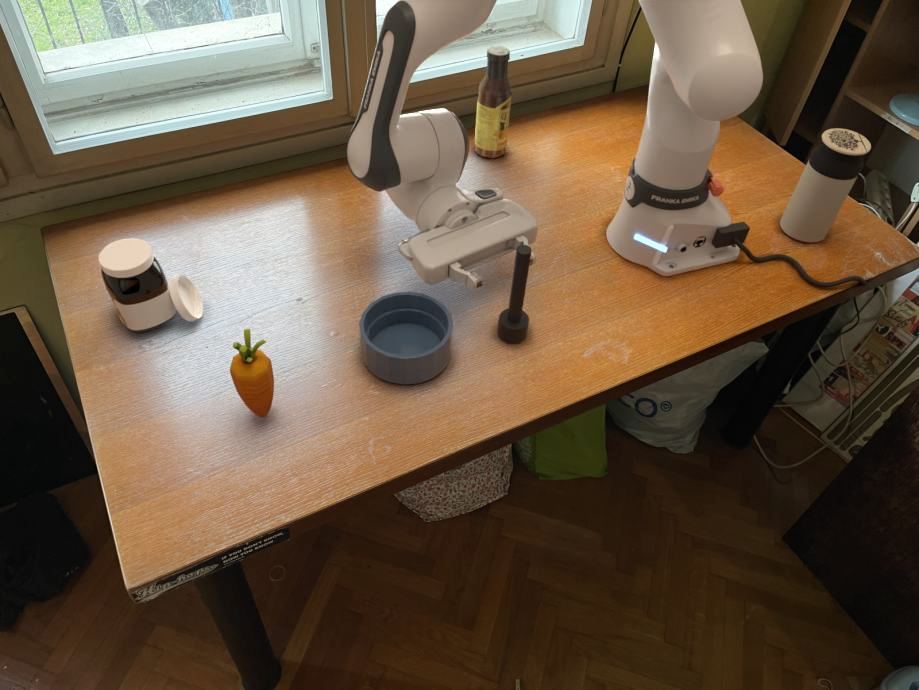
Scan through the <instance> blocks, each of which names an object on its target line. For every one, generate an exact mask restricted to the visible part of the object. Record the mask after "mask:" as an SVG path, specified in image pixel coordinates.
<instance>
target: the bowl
mask: <svg viewBox="0 0 919 690" xmlns="http://www.w3.org/2000/svg"><path fill="white" fill-rule="evenodd" d="M358 325H359V336H360V337H359V338H360V348H361V349H360V350H361V359H362V361H363V363H364V365H365V366H366V368H367V369H368V371H370V373H372V374H373V375H374V376H376V378H379V379H381V380H384V381H387V382H388V383H393V384H399V385H413V384H420V383H423V382H426V381H429V380H431V379H433V378H435V377H436V376H438V375H439V374H440V373H442V372H443V371H444V370H445V368H446V367H447V365H448V364H449V363H450V360H451V355H452V351H453V333H454V323H453V318H452V315H451V313H450V311H449V310H448V308H447V307H446V306H445V305H444V304H443V303H441V302H440V301H439V300H438V299H436V298H434V297H432V296H429V295H427V294H425V293H421V292H415V291H400V292H399V291H398V292H397V291H396V292H392V293H389V294H386V295H382V296H380V297H378V298H377V299H375V300H374V301H372V302H370V303H369V304H368V306H367V307H366V308H365V309H364V310H363V312H362V313H361V316H360V319H359V322H358Z"/></svg>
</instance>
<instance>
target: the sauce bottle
mask: <svg viewBox="0 0 919 690" xmlns="http://www.w3.org/2000/svg"><path fill="white" fill-rule="evenodd" d="M510 55H511V51H510V49H509V48H507V47H505V46H502V45H492V46H490V47H488V48H487V51H486V59H487V60H486V61H487V62H486V69H485V73H486V74H485V76H484V77H483V78H482V79H481V81H480V83H479V85H478V97H477V102H476V115H475V128H474V129H475V130H474V151H475V152H476V153H477V155H479V156H481V157H482V158H483V157H484V158H488V159H489V158H490V159H495V158H499V157H501V156H502V155H504V154H505V152H506V146H507V142H508V134H509V125H510V114H511V106H512V105H511V104H512V96H513V92H512V89H511V85H510V80H509V77H508V69H509V68H508V67H509V61H510V57H511V56H510Z"/></svg>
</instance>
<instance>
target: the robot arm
mask: <svg viewBox="0 0 919 690" xmlns="http://www.w3.org/2000/svg"><path fill="white" fill-rule="evenodd" d="M637 1H638V3H639V6H640V8H641V11H642V12H643V15H644V17H645V19H646V22H647V24H648V27H649V30H650V32H651V34H652V37H653V39H654V49H653V55H652V62H651V68H650V77H649V86H648V96H647V106H646V114H645V119H644V124H643V128H642V131H641V136H640V140H639V143H638V146H637V147H638V148H637V151H636V155H635V157H634V158H633V159H632V161H631V164H630V168H629V171H628V174H627V178H626V181H625V185H624V191H623V194H624V195H623V198H622V200H621V202H620V205H619V207H618V209H617V211H616V213H615V215H614V216H613V218H612V220H611V222H610V223H609V224H608V226H607V228H606V231H605V232H606V233H605V236H606V240H607V242H608V244H609V246H610V247H611V248H612V249H613V251H614V252H615V253H616V254H618V255H619V256H620V257H622V258H624V259H626V260H627V261H630V262H631V263H634V264H637V265H640V266H643V267H646V268H648V269H650V270H651V271H653V272H654V273H656V274H658V275H659V276H662V277H670V276H674V275H678V274H684V273H688V272H692V271H696V270H699V269H700V270H701V269H706V268H710V267H714V266H717V265H723V264H726V263H731V262H734V261H737V260H738V259H739V256H740V250H741V251H742V253H744V255H746V257H747V258H748V259H749V260H750V261H752V262H754V263H764V262H765V263H766V262H768V261H773V260H783V261H785V262H788V263H789V264H791V265H792V266H793V267H794V268H795V269H796V270H797V272H798V273H799V275H800V276H801V277H802V278H803V279H804V280H805V281H806V282H808V283H809V284H810V285H813V286H815V287H819V288H833V287H839V286H842V285H844V284H847V283H850V282H858V283H859V284H860V285H862V286H867V285H868V283H867V281H866V280H865V279H864V278H863V277H862V276H860V275H850V276H846V277H843V278H840V279H837V280H834V281H833V280H832V281H827V282H826V281H819V280H817V279H814V278H813V277H811V276H810V275H809V274H808V273H807V272H806V270H805V269H804V267H802V265H801V264H800V263H799V262H798V260H796V259H794V258H793V257H791V256H789V255H786V254H782V253H774V254H769V255H765V256H756V255H754V254H753V253H752V252H751V250H750V249H749V248H748V247H747V246H745V245H744V243H745V241H746V239H747V237H748V235H749V232H750V230H751V227H750V226H749V225H748V224H747V223H746V222H745V221H741V222H735V223H733V220H732V216H731V213H730V211H729V209H728V208H727V206H726V204H725V203H724V202H723V201H722V199H721V198H720V196H722V195H723V194H724V192H725V187H724V185H722V183H721V181H720V180H719V179H714V175H713V173H712V172H711V171H710V169H709V165H710V163H711V160H712V158H713V154H714V151H715V148H716V146H717V142H718V140H719V136H720V132H721V121H726V120H729V119H733V118H735V117H737V116H739V115H740V114H742V113H743V112H745V111H746V110H748V108H749V107H751V105H752V104H753V103H754V102H755V101H756V99H757V98H758V96H759V95H760V92H761V90H762V87H763V82H764V73H763V67H762V65H763V64H762V60H761V56H760V51H759V49H758V46H757V42H756V40H755V37H754V34H753V31H752V29H751V26H750V23H749V20H748V17H747V15H746V12H745V9H744V6H743V4H742V1H741V0H637ZM497 2H498V0H398V1H397V2H396V3H395V4H394V5H393V6H391V7H390V8H389V10H388V11H387V13H386V14H385V16H384V19H383V22H382V25H381V28H380V31H379V34H378V38H377V42H376V44H375V49H374V53H373V56H372V60H371V64H370V69H369V72H368V76H367V79H366V80H367V81H366V84H365V88H364V92H363V96H362V100H361V103H360V107H359V111H358V114H357V117H356V119H355V122H354V124H353V126H352V128H351V130H350V132H349V134H348V135H349V136H348V137H347V138H348V139H347V142H346V149H345V151H346V162H347V165H348V169H349V171H350V173H351V174H352V176H353V177H354V178H355V179H356V180H357V181H358V182H360V183H361V184H363V185H364V186H365V187H367V188H369V189H371V190H373V191H374V192H379V193H380V192H384V191H385V192H386V194H387V196H388V197H389V198H390V200H391V202H392V203H393V204H394V206H396V208H397V209H398V210H399V211H400V212H401V213H402V214H403V216H405V217H406V218H407V219H408V220H410V221H412V222H414V223H415V225H416V227H417V229H418V230H419V231H420V232H417V233H416V234H414V235H410V236H406V237H404V238H403V239H402V240H401V242H400V243H399V244H398V247H397V250H398V252H399V254H400V255H401V256H402V257H403V258H404V259H405V260H408V261H409V263H410V265H411V266H412V268H413V270H414V272H415V273H416V275H417V276H418V277H419V279H420V280H421V281H422V282H423V283H424V284H427V285H431V286H435V285H436V284H439V283H442V282H444V281H446V280H448V279H451V280H452V281H453V282H456V283H460V284H463V285H467V286H468V288H469V289H471V290H472V291H475V290H477V289H479V288H481V287H483V277H482V276H481V275H479V273H478V272H477V271H472V272H470V270H472V269H475V268H477V267H479V266H482V265H485V264H487V263H489V262H491V261H494V260H496V259H499V258H501V257H504V256H506V255H508V254H510V253H513V252H516V250H517V247H518V246H519V245H527V246H529V247H530V245H532V244H534V243H535V242H536V240H537V236H538V229H539V224H538V221H537V219H536V217H534V216H533V215H532V214H531V213H530V212H529V211H528V210H527V209H525V208H524V207H522V206H521V205H520V204H519V203H517V202H515V201H514V200H511V199H507V198H504V193H503V191H502V190H500V189H499V188H497V187H492V188H491V187H490V188H483V189H460V188H458V187H457V183H459V182H460V179H461V177H462V174H463V171H464V169H465V167H466V163H467V161H468V158H469V154H470V153H469V152H470V137H469V135H468V132H467V130H466V128H465V126H464V124H463V123H462V121H461V119H460V118H459V117H458V116H457V115H456V114H455V113H454V112H453V111H451V110H449V109H448V108H445V107H442V108H434V109H427V110H422V111H421V110H420V111H416V112H411V113H405V114H402V110H403V107H404V104H405V100H406V97H407V93H408V90H409V86H410V82H411V81H412V78H413V76H414V74H415V72H416V71H417V70H418V68H419V67H420V66H421V65H422V64H423V63H424V62H425V61H426V60H428V59H429V58H431V56H433V55H434V54H436V53H438V52H439V51H440V50H442V49H445V48H446V47H448V46H449V45H452V44H454V43H455V42H458V41H460V40H463V39H464V38H467V37H469V36H470V35H471V34H473V33H475V32H476V31H478V30H479V29H480V28H481V27H482V26H483V25H484V24H485V23H486V22H487V21H488V20H489V18H490V17H491V16H492V13H493V11H494V9H495V7H496V5H497ZM536 258H537V257H536V254H535V253H534V252H533V251H531V258H530V264H529V267H531V266H533V265H534V264H536Z"/></svg>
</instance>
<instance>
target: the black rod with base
mask: <svg viewBox="0 0 919 690" xmlns="http://www.w3.org/2000/svg"><path fill="white" fill-rule="evenodd" d="M531 252H533V250H532V248H531V247H530V245H529V246H527V245H519V246H518V247H517V250H515V257H514V258H515V259H514V265H513V273H512V278H511V279H512V281H511V289H510V294H509V301H508V308H505V309H503V310H502V311H501V312H500V313H499V315H498V323H497V329H496V330H497V331H496V332H497V333H496V334H497V336H498V338H499V340H501V341H502V342H504V343H506V344H509V345H518V344H521V343H522V342H524V341H525V340H526V338H527V335H528V334H527V333H528V329H529V324H530V317H529V315H528V313H526V311H524V310H523V309H524V302H525V296H526V290H527V282H528V276H529V271H530V266H529V264H530V258H531Z"/></svg>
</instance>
